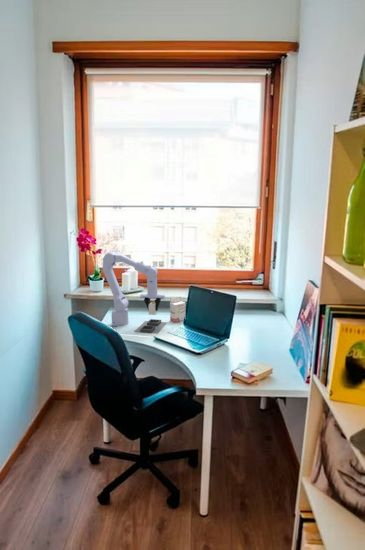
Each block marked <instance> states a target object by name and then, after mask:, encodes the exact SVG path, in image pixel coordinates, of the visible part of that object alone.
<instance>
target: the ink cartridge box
mask: <svg viewBox="0 0 365 550" xmlns="http://www.w3.org/2000/svg"><path fill="white" fill-rule="evenodd" d="M181 297H182V296H176V297H171V298H170V302H169V320H170V322H173V323H179V322H183V321H185V320H184V315H185V316H186V302H185V301H182V300H181V299H182V298H181Z"/></svg>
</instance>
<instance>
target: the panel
mask: <svg viewBox="0 0 365 550" xmlns="http://www.w3.org/2000/svg"><path fill="white" fill-rule="evenodd" d="M167 324H168V322H166V321H165V322H164V321H162V319H153V318H150V319H149V320H144V321H143V323H142V324H141V325H139V326H138V327H137V328H136V329H135V330H134V331H133V333H141V334H155V335H157V334H159V333H160V332H161V331H162V329H163V328H164V327H165V326H166V325H167Z"/></svg>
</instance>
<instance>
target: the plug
mask: <svg viewBox="0 0 365 550" xmlns="http://www.w3.org/2000/svg"><path fill="white" fill-rule="evenodd" d="M155 308H156V306H155V301H151V302H150V304H149V311H148V315H150V316H151V315H152V316H153V315H154V316H156V315H157V314H158V310H157V311H156V310H155Z"/></svg>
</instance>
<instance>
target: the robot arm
mask: <svg viewBox="0 0 365 550" xmlns="http://www.w3.org/2000/svg"><path fill="white" fill-rule="evenodd" d="M116 263H123V264H126V265H128V266H130V267H133V268H134V270H135V272H139V273H140V274H143V275H145V276H146V280H147V281H146V284H147V285H146V289H147V293H146V294H145V293H144V294H143V293H142V294H140V295H139V298H140V299H143V301H144V303H145V305H146V309H147V311H148V312H149V304H150V303H151V299H152V300H153V299H154V302H155V306H156V308H155V310H156V311H157V312H158V310H159V306H160V303H161V300H165V299H166V296H165V295H164V294H158V278H157V277H158V276H157V275H158V273H159V270H158V268H157V267H156V266H152V265H150V264H146V263H145V262H144V261H143V260H142V261H135V260H133V259H131V258H130V257H128V256H126V255H124V254H123V253H121V252H118V251H116V250H112V251H110V252H107V253H106V254H105V255H104V256H103V257H102V271H103V274H104V276H105V278H106V281H107V283H108V286H109V289H110V291H111V293H112V295H113V298H112V299H113V300H112V301H113V307H114V309H113V310H112V311H111V326H113V327H118V326H126V325H128V324H129V308H128V307H129V304H130V301H129V299H128V298H127V297H126V295H125V294H124V293H123V292H122V289H121V287H120V285H119V281H118V279H117V276H116V275H115V271H114V269H113V268H114V266H115V264H116Z"/></svg>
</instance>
